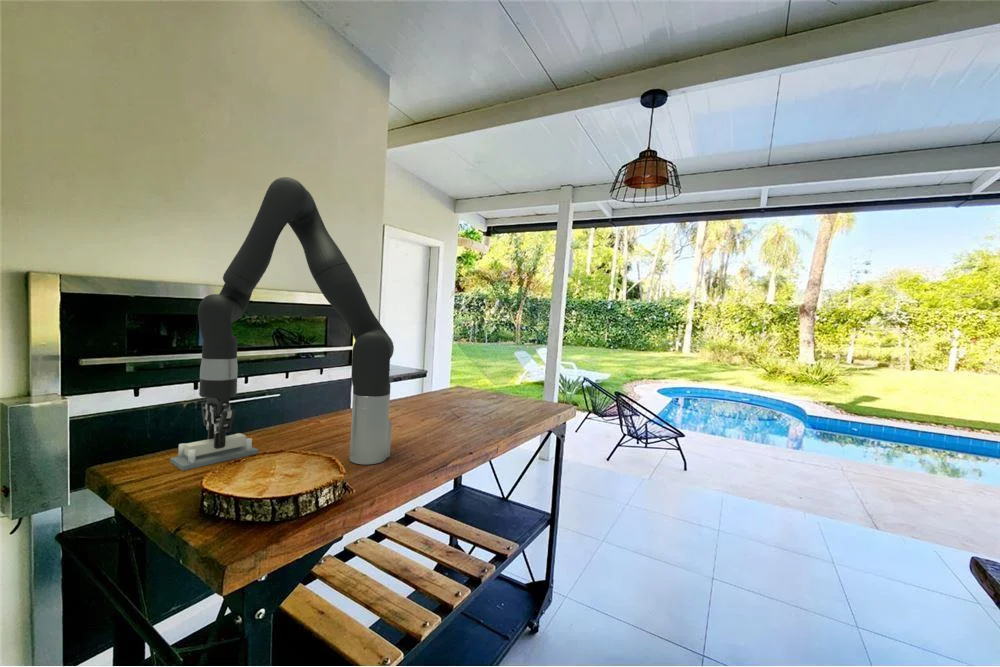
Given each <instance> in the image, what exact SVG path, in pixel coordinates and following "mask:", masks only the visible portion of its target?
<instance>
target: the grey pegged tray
mask: <svg viewBox="0 0 1000 667" xmlns="http://www.w3.org/2000/svg"><path fill="white" fill-rule="evenodd" d="M236 434H240V432H238V433H236ZM252 441H253V439H252V437H246V439H245V446H241V447H236V448H231V449H227V450H222V451H217V452H213V453H208V454H203V455H199V456H196V449H190V450H188V456H186V455H185V454H184V450H185V444H186V443H185V442H184V443H182V442H181V443H179V444H178V454H177V455H178V456H174V457H173V456H172V457H170V458H169V463H170V464H172V465H174V466H175V467H176V468H178V469H179V470H181V471H182V472H183V471H186V470H187V471H188V470H191V469H196V468H199V467H205V466H209V465H213V464H218V463H222V462H226V461H227V462H228V461H231V460H235V459H239V458H244V457H249V456H252V455H253V456H254V455H257V454H259V448H256V447H255V446H254V447H253V446H252V443H253V442H252Z"/></svg>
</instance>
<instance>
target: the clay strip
mask: <svg viewBox="0 0 1000 667" xmlns="http://www.w3.org/2000/svg"><path fill="white" fill-rule="evenodd" d="M239 433H240V432H239ZM245 439H247V435H245V434H243V433H240V434H237V433H235V434H230V435H226V439H225V447H223V448H219V449H215V448H214V438H213V439H208V438H207V439H203V440H197V441H192V442H187V443H186V444H185V450H184V454H185V455H186V456H188V450H190V449H196V456H199V455H203V454H208V453H213V452H217V451H222V450H227V449H231V448H236V447H241V446H245Z"/></svg>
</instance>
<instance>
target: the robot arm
mask: <svg viewBox="0 0 1000 667" xmlns="http://www.w3.org/2000/svg"><path fill="white" fill-rule="evenodd" d="M287 224H288V225H289V226H290V228H291V230H292V231H293V233H294V234H295V236H296V237H297V239H298V240H299V242H300V245H301V246H302V249H303V253H304V256H305V260H306V262H307V266H308V269H309V271H310V274H311V275H312V278H313V280H314V281H315V283H316V285H317V287H318V289H319V290H320V292H321V293H322V295H323V296H324V298H325V300H327V302H328V303H329V304H330V306H331V307H332V308H333V309H334V310H335V311H336V312H337V313H338V314H339V316H340V317H341V318H342V319H343V321H344V322H345V324H346V325H347V326H348V329H349V330H350V332H351V334H352V336H353V338H354V340H355V341H354V344H353V345H352V346H353V347H352V351H351V352H352V354H351V384H352V404H351V405H352V407H351V425H350V426H351V428H350V443H349V445H350V447H349V461H350V462H351V463H353V464H358V465H375V464H380V463H383V462H385V461H386V459H388V458H390V457H391V443H392V442H391V440H392V425H393V424H392V421H391V420H390V404H391V401H390V399H391V380H390V379H391V378H390V369H391V367H390V366H391V359H392V357H393V355H394V350H395V347H394V343H393V341H392V338H391V337H390V336H389V334H388V333H387V331H386V330H385V329H384V327H383V326H382V324H381V322H380V321H379V320H378V319H377V317H376V316H375V314H374V312H373V310H372V309H371V307H370V304H369V302H368V300H367V297H366V295H365V293H364V291H363V289H362V287H361V285H360V283H359V281H358V278H357V277H356V275H355V273H354V271H353V269H352V268H351V266H350V264H349V262H348V261H347V259H346V257H345V256H344V254H343V253H342V251H341V249H340V248H339V247H338V245H337V243H336V242H335V240H333V238H332V237H331V235H330V234H329V231H328V230H327V228H326V225H325V223H324V222H323V219H322V216H321V215H320V212H319V209H318V208H317V205H316V202H315V199H314V197H313V196H312V194H311V193H310V192H309V190H307V189H306V187H305V186H304V185H303V184H302V183H301V182H300V181H298V180H297V179H295V178H293V177H288V176H287V177H286V176H283V177H279V178H276V179H274V180H273V181H272V182H271V183H270V184H269V186H268V188H267V190H266V192H265V194H264V197H263V200H262V201H261V204H260V208H259V210H258V212H257V214H256V216H255V218H254V221H253V223H252V225H251V228H250V230H249V231H248V234H247V236H246V238H245V240H244V241H243V243H242V245H241V247H240V248H239V250H238V252H237V253H236V254H235V256H234V257H233V259H232V260H231V262H230V264H229V265H228V267H227V269H226V270H225V272H224V273H223V276H222V281H223V282H224V284H223V286H222V288H221V290H220V292H219V294H217V293H215V294H213V293H212V294H209V295H207V296H205V297H203V298H202V300H200V302H199V305H198V308H197V321H198V324H199V329H200V330H199V331H200V334H201V338H202V348H201V349H202V350H201V363H200V367H199V368H200V369H199V390H198V391H199V392H198V395H199V397H201V398H204V399H206V401H205V402H204V401H203V402H201V404H200V406H201V413H202V420H203V423H202V424H203V426H204V427H206V430H207V440H208V439H213V438H214V448H215V449H219V448H223V447H225V439H226V436H227V435H226V434H227V433H228V432H231V431H232V426H233V423H234V419H235V416H236V410H235V409H231V404H230V398H231V397H233V396H236V395H237V393H238V374H239V373H238V371H239V370H238V367H239V366H238V339H237V336H235V335H234V334H233V328H232V327H233V325H232V324H233V323H234V322H236V321H238V320H239V319H240V318H241V317H242V315H244V312H245V311H246V309H247V308H248V304H249V302H250V301H251V298H252V295H253V292H254V290H255V288H256V286H257V285H258V284H259V283H260V281H261V279H262V278H263V276H264V274H265V273H266V270H267V269H268V267H269V265H270V263H271V260H272V258H273V252H274V250H275V247H276V244H277V241H278V239H279V236H281V234H282V231H283V230H284V228H285V227H286V226H287Z"/></svg>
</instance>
